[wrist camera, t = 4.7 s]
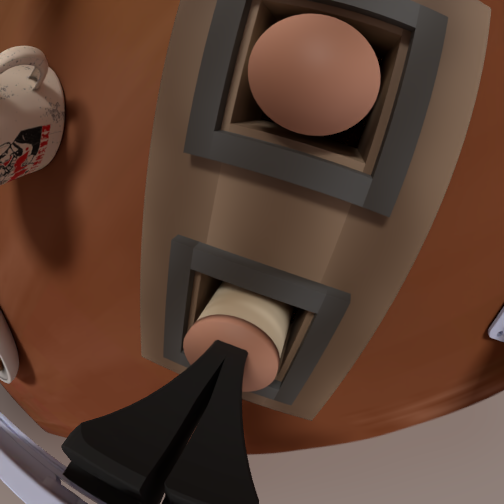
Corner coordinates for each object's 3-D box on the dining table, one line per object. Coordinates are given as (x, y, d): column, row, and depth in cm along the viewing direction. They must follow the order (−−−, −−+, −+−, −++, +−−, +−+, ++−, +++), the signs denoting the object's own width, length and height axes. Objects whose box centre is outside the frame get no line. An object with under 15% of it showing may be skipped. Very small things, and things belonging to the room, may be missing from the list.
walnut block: (453, 31, 9) (497, 4, 5) (320, 368, 20) (310, 428, 15) (237, -27, 10) (195, -69, 6) (173, 314, 21) (137, 362, 17)
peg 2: (374, 60, 11) (393, 36, 7) (352, 139, 13) (360, 153, 9) (288, 36, 11) (264, 3, 7) (268, 114, 14) (235, 117, 9)
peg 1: (306, 276, 15) (290, 345, 11) (283, 334, 17) (262, 402, 13) (230, 250, 16) (187, 307, 11) (217, 309, 18) (180, 370, 13)
